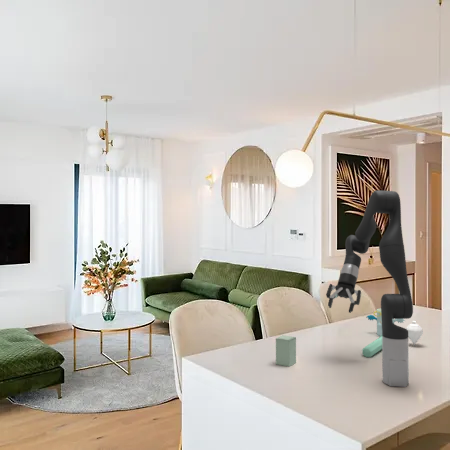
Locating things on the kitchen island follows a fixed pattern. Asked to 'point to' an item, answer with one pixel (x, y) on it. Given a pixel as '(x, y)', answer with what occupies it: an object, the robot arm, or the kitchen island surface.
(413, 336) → the spinning top
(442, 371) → the kitchen island surface
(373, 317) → the character sculpture
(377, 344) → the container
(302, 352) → the kitchen island surface
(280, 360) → the tall sage green box
